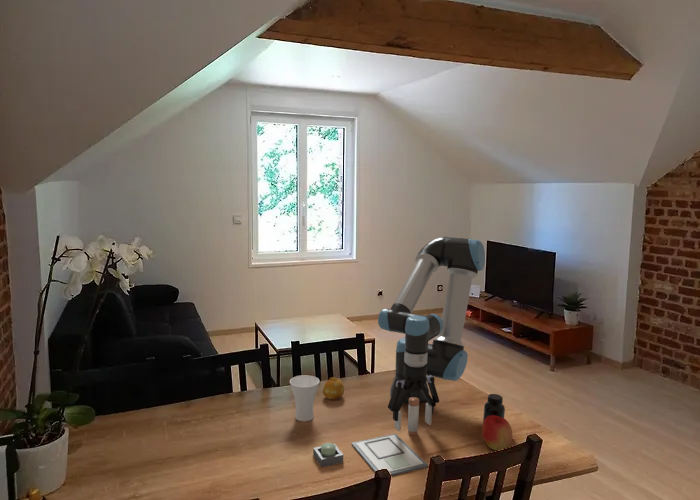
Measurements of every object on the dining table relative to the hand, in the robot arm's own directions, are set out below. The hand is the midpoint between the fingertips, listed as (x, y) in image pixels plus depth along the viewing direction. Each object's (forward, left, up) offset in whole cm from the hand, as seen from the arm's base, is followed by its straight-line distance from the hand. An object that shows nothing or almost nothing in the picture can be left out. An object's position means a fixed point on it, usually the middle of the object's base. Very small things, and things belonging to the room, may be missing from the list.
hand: (412, 426), depth 174 cm
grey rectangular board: (+9, -14, -3) cm, 17 cm away
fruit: (-35, -14, -3) cm, 38 cm away
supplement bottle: (+8, +27, -3) cm, 28 cm away
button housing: (+4, -32, -3) cm, 32 cm away
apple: (+18, +20, -3) cm, 27 cm away
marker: (0, 0, -3) cm, 3 cm away
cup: (-24, -30, -3) cm, 39 cm away
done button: (+4, -32, -3) cm, 32 cm away
